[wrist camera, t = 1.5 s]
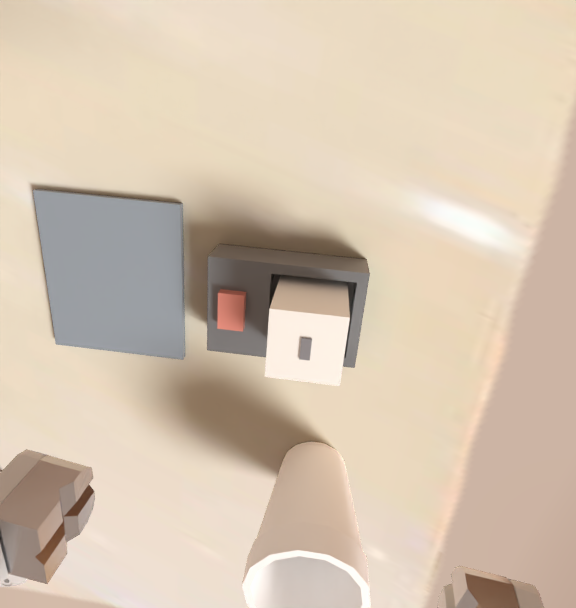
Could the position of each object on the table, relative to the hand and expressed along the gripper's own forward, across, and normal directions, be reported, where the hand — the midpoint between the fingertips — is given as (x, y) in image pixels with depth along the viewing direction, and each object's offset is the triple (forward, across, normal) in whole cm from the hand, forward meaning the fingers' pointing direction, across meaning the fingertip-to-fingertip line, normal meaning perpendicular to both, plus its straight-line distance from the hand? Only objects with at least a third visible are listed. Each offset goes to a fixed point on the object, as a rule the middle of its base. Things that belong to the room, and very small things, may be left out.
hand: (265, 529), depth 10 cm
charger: (+25, -1, -8) cm, 27 cm away
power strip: (+27, -3, -8) cm, 28 cm away
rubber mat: (+26, -18, -10) cm, 33 cm away
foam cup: (+26, +3, -26) cm, 37 cm away
